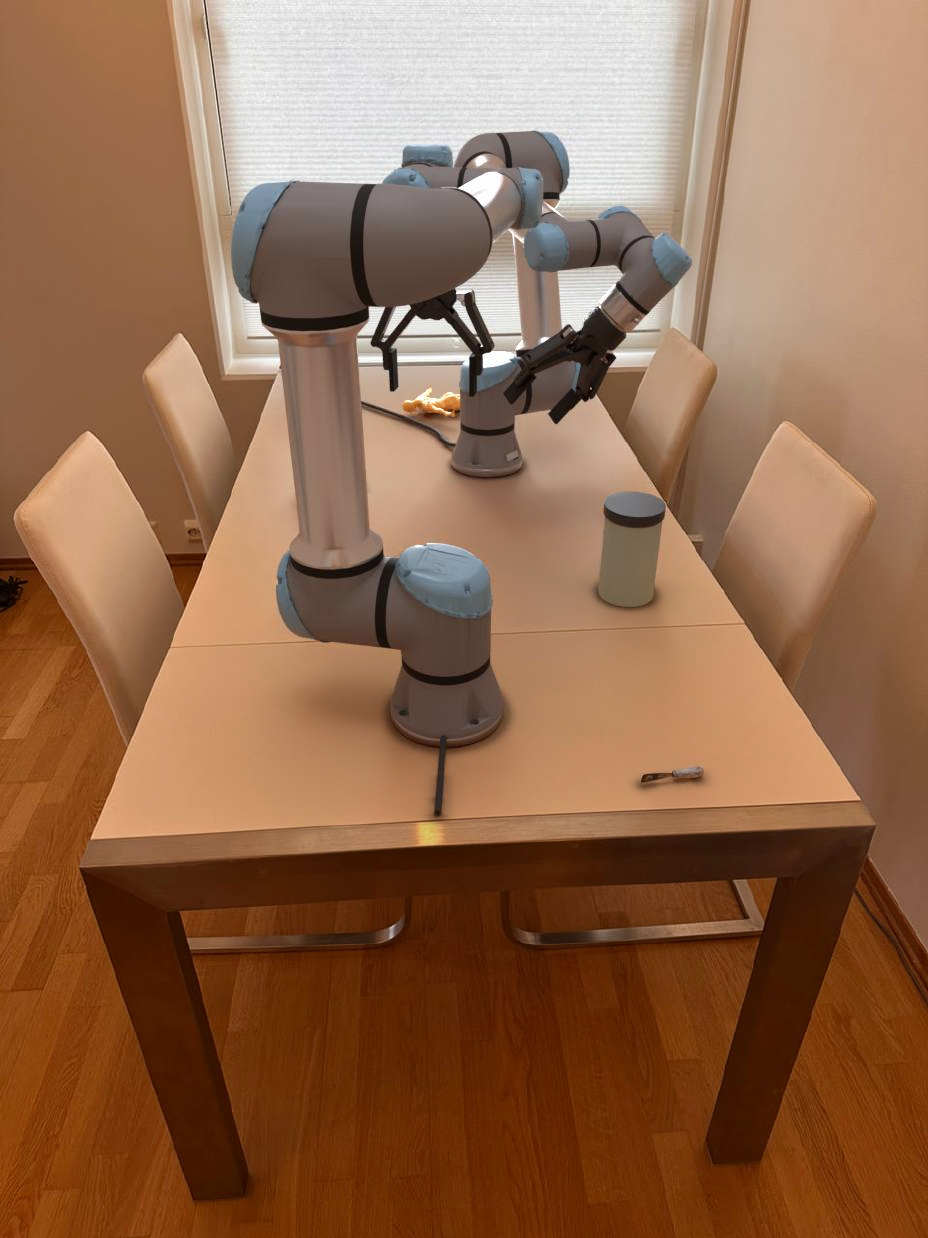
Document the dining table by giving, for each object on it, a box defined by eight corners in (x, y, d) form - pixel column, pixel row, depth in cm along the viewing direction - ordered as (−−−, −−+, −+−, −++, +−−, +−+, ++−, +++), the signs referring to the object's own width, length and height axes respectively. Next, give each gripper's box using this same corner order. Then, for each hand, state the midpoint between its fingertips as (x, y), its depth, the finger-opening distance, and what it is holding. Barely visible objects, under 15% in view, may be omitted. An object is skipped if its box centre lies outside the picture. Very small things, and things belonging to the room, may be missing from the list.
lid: (614, 529, 136) (615, 519, 135) (595, 503, 144) (596, 493, 143) (673, 524, 137) (675, 514, 136) (652, 499, 145) (653, 489, 144)
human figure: (395, 413, 223) (394, 398, 221) (438, 390, 237) (438, 375, 235) (462, 429, 215) (462, 413, 213) (502, 404, 229) (503, 388, 227)
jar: (607, 609, 144) (616, 521, 135) (591, 582, 151) (598, 496, 143) (661, 604, 145) (672, 516, 136) (642, 577, 152) (652, 492, 144)
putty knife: (703, 777, 109) (705, 767, 109) (642, 788, 108) (644, 777, 107) (700, 772, 110) (702, 762, 109) (639, 782, 109) (640, 771, 108)
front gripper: (513, 255, 139) (510, 389, 150) (360, 249, 144) (368, 380, 155) (505, 264, 133) (502, 403, 144) (345, 258, 137) (355, 393, 149)
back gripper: (583, 307, 142) (496, 404, 152) (660, 356, 160) (578, 440, 170) (561, 278, 145) (477, 375, 155) (638, 329, 164) (560, 413, 174)
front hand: (433, 391), depth 149 cm, fingers open, 13 cm apart
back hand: (530, 409), depth 163 cm, fingers open, 13 cm apart
